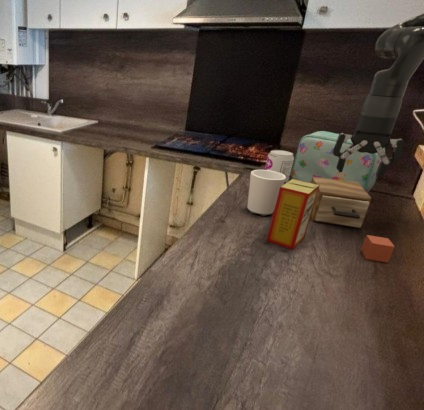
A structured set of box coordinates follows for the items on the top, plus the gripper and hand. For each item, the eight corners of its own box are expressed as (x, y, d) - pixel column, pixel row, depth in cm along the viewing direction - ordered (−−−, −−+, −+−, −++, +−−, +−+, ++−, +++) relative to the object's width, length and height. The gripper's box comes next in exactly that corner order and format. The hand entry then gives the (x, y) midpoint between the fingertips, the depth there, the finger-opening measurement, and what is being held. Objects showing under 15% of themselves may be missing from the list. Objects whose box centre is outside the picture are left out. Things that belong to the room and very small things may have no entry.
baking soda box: (292, 249, 93) (308, 192, 87) (266, 240, 97) (280, 185, 91) (304, 237, 99) (320, 183, 93) (279, 229, 104) (293, 177, 97)
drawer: (365, 234, 99) (375, 209, 96) (318, 227, 103) (326, 202, 100) (349, 210, 115) (356, 187, 112) (308, 204, 119) (315, 182, 116)
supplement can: (261, 194, 129) (270, 154, 123) (259, 187, 136) (267, 148, 130) (286, 198, 126) (296, 156, 120) (282, 190, 133) (292, 151, 127)
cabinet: (360, 228, 105) (371, 198, 101) (311, 220, 110) (320, 191, 106) (348, 209, 118) (357, 182, 114) (304, 203, 122) (312, 176, 118)
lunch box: (376, 198, 127) (398, 138, 118) (363, 204, 122) (386, 142, 113) (299, 177, 147) (313, 125, 139) (286, 182, 142) (300, 128, 133)
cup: (247, 203, 121) (254, 167, 116) (278, 210, 116) (288, 173, 111) (239, 213, 114) (247, 175, 109) (273, 221, 109) (283, 182, 103)
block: (382, 254, 92) (388, 238, 90) (388, 263, 88) (395, 246, 86) (360, 250, 93) (366, 234, 92) (365, 258, 89) (372, 242, 88)
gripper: (410, 114, 91) (387, 174, 98) (343, 109, 97) (326, 166, 104) (418, 118, 85) (393, 182, 92) (347, 113, 91) (328, 173, 98)
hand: (358, 174), depth 98 cm, fingers open, 8 cm apart
